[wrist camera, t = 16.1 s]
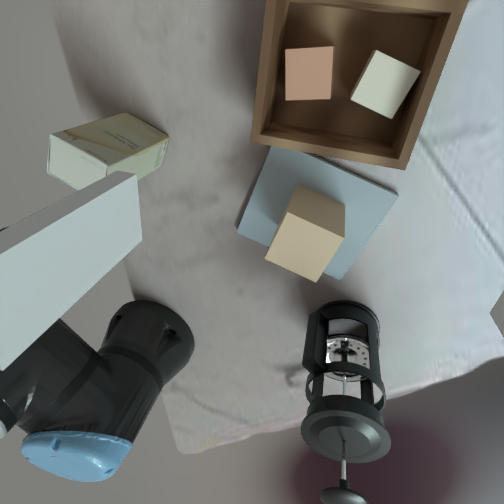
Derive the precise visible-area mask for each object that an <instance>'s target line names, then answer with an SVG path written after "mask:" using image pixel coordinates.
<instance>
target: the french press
mask: <svg viewBox="0 0 504 504" xmlns="http://www.w3.org/2000/svg"><path fill="white" fill-rule="evenodd" d="M341 318H343V319H352V320H356V321H359V322H361V323H363V324H365V325H367V335H368V336H367V337H366V338H365V339H363V338H361V337H358V336H355V335H350V334H332V335H328V332H329V320H333V319H341ZM379 332H380V325H379V321H378V319H377V317H376V315H375V314H374V313H373V312H372V311H371V310H370V309H369V308H367V307H366V306H364V305H362V304H359V303H357V302H352V301H343V300H341V301H334V302H330V303H328V304H325V305H323V306H322V307H321V308H319V309H318V310H317V311H315V312H313V313H312V314H310V315H309V319H308V326H307V333H306V340H305V347H304V354H303V361H302V365H303V367H304V368H305V369H307V370H308V371H309V372H310V373H309V375H308V377H307V382H306V390H305V391H306V397H307V399H308V401H309V403H310V405H309V407H308V410H307V416H306V417H305V418H304V420H303V421H302V425H301V435H302V437H303V439H304V441H305V442H306V443H307V444H308V445H309V446H310V447H311V448H312V449H313V450H315V451H316V452H318V453H320V454H322V455H323V456H326V457H328V458H331V459H334V460H338V461H342V479H340V480H339V487H329V488H325V489H323V490H322V491H321V492H320V499H321V501H322V502H323V503H324V504H368V502H367V500H366V498H365V497H363V496H362V495H360V494H359V493H357V492H355V491H353V490H350V489H349V482H348V481H347V480H346V462H348V463H365V462H371V461H374V460H377V459H379V458H381V457H383V456H384V455H385V454H386V453H387V452H388V451H389V448H390V445H391V440H390V436H389V433H388V431H387V430H386V428H385V427H384V420H383V417H382V415H381V412H382V410H383V409H384V407H385V404H386V395H385V388H384V384H383V382H382V380H381V374H380V364H379V354H378V350H379V346H380V340H379ZM324 375H326V376H327V377H329V378H332V379H334V380H338V381H343V395H328V396H323V397H322V395H323V381H324ZM312 380H313V388H312V393H311V391H310V389H309V386H308V385H309V384H310V382H311V381H312ZM356 381H360V384H361V399H359V398H356V397H352V396H347V395H346V382H356ZM373 383H375V384H376V385H377V386H378V387H379V388H380V390H381V391H382V393H383V395H382V398H381V399H380V401H379V402H378V403H377V404H375V405H374V395H373Z"/></svg>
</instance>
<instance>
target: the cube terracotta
mask: <svg viewBox="0 0 504 504" xmlns="http://www.w3.org/2000/svg"><path fill="white" fill-rule="evenodd" d="M334 53H335V46H330V47H315V48H300V49H285V66H286V100H314V99H331V96H332V86H333V70H334Z"/></svg>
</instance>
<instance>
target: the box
mask: <svg viewBox="0 0 504 504" xmlns="http://www.w3.org/2000/svg"><path fill="white" fill-rule="evenodd" d="M468 1H469V0H266V4H265V14H264V23H263V32H262V41H261V50H260V59H259V68H258V77H257V86H256V96H255V105H254V114H253V123H252V132H251V141H250V142H253V143H258V144H264V145H269V146H275V147H280V148H286V149H291V150H297V151H302V152H308V153H313V154H318V155H324V156H329V157H335V158H340V159H346V160H351V161H357V162H362V163H368V164H373V165H379V166H384V167H390V168H395V169H400V170H405V169H406V166H407V164H408V161H409V158H410V156H411V153H412V150H413V148H414V145H415V142H416V140H417V137H418V134H419V132H420V129H421V126H422V124H423V121H424V118H425V116H426V113H427V110H428V108H429V105H430V102H431V100H432V97H433V94H434V92H435V89H436V86H437V84H438V81H439V78H440V76H441V73H442V70H443V68H444V65H445V62H446V60H447V57H448V54H449V52H450V49H451V46H452V43H453V41H454V38H455V35H456V33H457V30H458V27H459V25H460V22H461V19H462V17H463V14H464V11H465V9H466V6H467V3H468ZM330 46H335V53H334V70H333V86H332V96H331V99H314V100H286V66H285V49H300V48H315V47H330ZM373 50H377V51H379V52H381V53H383V54H385V55H388V56H390V57H392V58H394V59H396V60H398V61H400V62H402V63H404V64H406V65H408V66H410V67H412V68H415V69H417V70H419V71H421V72H420V74H419V75H418V77H417V79H416V80H415V82H414V83H413V85H412V87H411V88H410V90H409V92H408V93H407V95H406V97H405V98H404V100H403V101H402V103H401V105H400V106H399V108H398V110H397V111H396V113H395V115H394V116H393V118H392V119H390V118H388V117H386V116H384V115H382V114H380V113H378V112H375V111H373V110H371V109H369V108H367V107H365V106H363V105H361V104H359V103H357V102H355V101H353V100H351V98H350V94H351V92H352V90H353V88H354V86H355V84H356V82H357V80H358V78H359V77H360V75H361V73H362V71H363V69H364V67H365V65H366V63H367V61H368V59H369V57H370V55H371V53H372V51H373Z"/></svg>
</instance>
